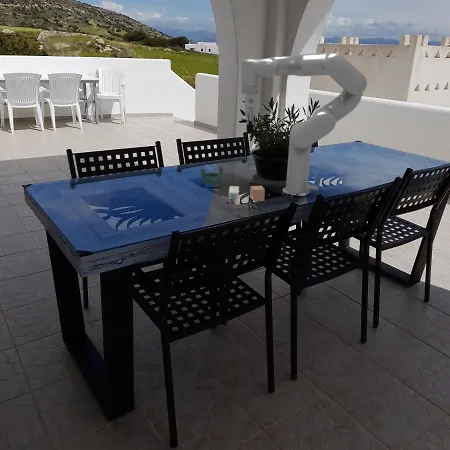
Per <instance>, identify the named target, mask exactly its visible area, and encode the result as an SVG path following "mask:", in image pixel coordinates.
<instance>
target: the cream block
mask: <svg viewBox="0 0 450 450" xmlns="http://www.w3.org/2000/svg"><path fill="white" fill-rule="evenodd" d="M228 195H229V199H238V195H239V196H240V186H238V185H237V186H236V185H230V186H229V189H228Z"/></svg>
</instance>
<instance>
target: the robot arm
mask: <svg viewBox="0 0 450 450" xmlns="http://www.w3.org/2000/svg"><path fill="white" fill-rule="evenodd" d="M240 74H241V94H242V95H244V96H243V98H244V100H243V101H244V102H243V103H244V115H245V118H246V135H251V134H252V135H253V134H254V133H255V124H254V118H258V95H259V94H260V77H261V78H272V77H274V76H296V77H311V76H312V77H314V76H318V77H319V76H329V77H330V78H331V79H332V80H333V81H334V82H335V83H336V84H338V85H339V86H340V87H341V88H342V91H341V93H340V94H338V96H336V97H335V98H334V99H332V100H331V101H330V102H328V103H327V104H325V105H323V106H322V107H320V108H319V109H316V110H315V111H314V112H313V114H312V115H311V117H309V118H308V119H307V120H305V121H299V122H296V123H295V124H293V126H292V127H291V128H290V130H289V131H290V132H289V146H288V156H287V157H288V159H287V171H286V184H285V185H286V186H285V187H283V188H282V190H281V191H283V192H284V193H286V194H291V195H296V194H302V193H310V194H311V191H315V192H317V191H319V186H317V185H314V184H310V183H309V173H310V163H311V154H312V145H313V144H315V143H317V142H318V141H319V140H322V139H323V138H324V137H326V136H328V134H330V133H331V132H332V131H333V130H334V129H335V127H336V125H337V123H338V122H340V121H341V120H342V119H344V118H345V117H347V115H349V114H350V113H352V112H353V111H354V110H355V109H356V108H357V107H358V105H359V104H360V103H361V100H362V97H363V94H364V92H365V90H366V89H367V85H368V81H367V80H368V79H367V77H366V76H365V75H364V74H363V73H362V72H361V71H360V70H359V69H357V68H356V67H355V66H354V65H353V64H352V63H351V62H350V61H349V60H348V59H347V58H346V57H345V56H344V55H342V54H341V53H340V52H335V51H333V52H331V51H330V52H319V53H318V52H317V53H305V54H304V53H303V54H298V55H296V54H295V55H290V56H275V57H266V58H262V59H261V58H260V59H258V58H245V59H242V61H241V73H240ZM257 94H258V95H257ZM283 192H282V193H283ZM284 193H283V194H284Z"/></svg>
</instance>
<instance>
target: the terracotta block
mask: <svg viewBox="0 0 450 450" xmlns="http://www.w3.org/2000/svg"><path fill="white" fill-rule="evenodd" d="M249 191H250V192H249V196H250V198H251V199H252V200H253V201H264V202H265V196H266V195H265V194H266V193H265V192H266V191H265V188H264V187H263V185H251V186H250V189H249Z"/></svg>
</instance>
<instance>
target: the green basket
mask: <svg viewBox="0 0 450 450" xmlns="http://www.w3.org/2000/svg"><path fill="white" fill-rule="evenodd" d="M218 172H219V173H218ZM218 172H206V169H205V167H200V177H201V178H202V179H203V180H202V181H203V182H202V184H203V183H205V184H208V185H219V184H221V185H222V183H221V182H222V179H221V178H222V176H223V175H224V166H223V165H220V166H219V170H218Z"/></svg>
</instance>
